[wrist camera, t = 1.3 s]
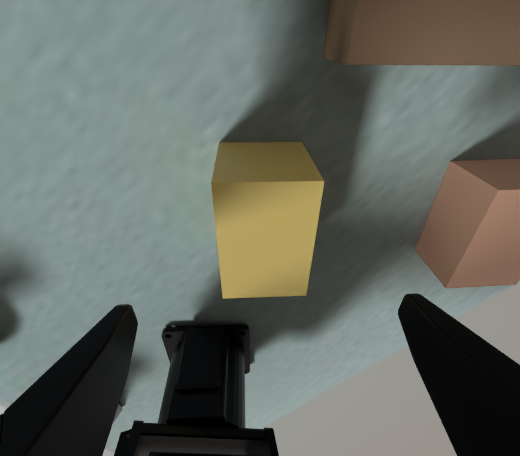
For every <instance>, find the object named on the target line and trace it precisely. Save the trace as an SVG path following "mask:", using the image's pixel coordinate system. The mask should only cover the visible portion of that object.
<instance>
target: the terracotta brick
mask: <svg viewBox="0 0 520 456" xmlns="http://www.w3.org/2000/svg"><path fill="white" fill-rule="evenodd" d="M415 251H416V252H417V253H418V254H419V256H420V257H421V258H422V259H423V261H424V262H425V263H426V264H427V266H428V267H429V268H430V269H431V271H432V272H433V273H434V274H435V276H436V277H437V278H438V279H439V281H440V282H441V283H442V284H443V285H444V287H445V288H460V287H479V286H499V285H516V284H517V282H518V281H519V279H520V159H494V160H463V161H450V163H449V165H448V168H447V170H446V173H445V175H444V178H443V180H442V183H441V185H440V188H439V190H438V193H437V195H436V198H435V200H434V203H433V205H432V208H431V210H430V213H429V215H428V217H427V220H426V222H425V225H424V227H423V230H422V232H421V235H420V237H419V240H418V242H417V245H416V247H415Z"/></svg>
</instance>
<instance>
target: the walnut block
mask: <svg viewBox="0 0 520 456" xmlns="http://www.w3.org/2000/svg"><path fill="white" fill-rule="evenodd" d="M323 58H325V59H328V60H332V61H335V62H339V63H342V64H346V65H520V0H330V1H329V9H328V18H327V26H326V35H325V43H324V52H323Z"/></svg>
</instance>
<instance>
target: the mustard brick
mask: <svg viewBox="0 0 520 456" xmlns="http://www.w3.org/2000/svg"><path fill="white" fill-rule="evenodd" d="M211 184H212V194H213V205H214V215H215V225H216V236H217V246H218V256H219V266H220V277H221V287H222V297H223V299H225V298H252V297H279V296H306V294H307V288H308V282H309V275H310V269H311V263H312V256H313V250H314V244H315V238H316V231H317V225H318V219H319V212H320V206H321V200H322V193H323V187H324V179H323V178H322V176H321V174H320V172H319V171H318V169H317V167H316V165H315V164H314V162H313V160H312V158H311V157H310V155H309V153H308V151H307V150H306V148H305V146H304V145H303V143H302V142H219V146H218V151H217V157H216V162H215V167H214V172H213V177H212V182H211Z"/></svg>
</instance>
